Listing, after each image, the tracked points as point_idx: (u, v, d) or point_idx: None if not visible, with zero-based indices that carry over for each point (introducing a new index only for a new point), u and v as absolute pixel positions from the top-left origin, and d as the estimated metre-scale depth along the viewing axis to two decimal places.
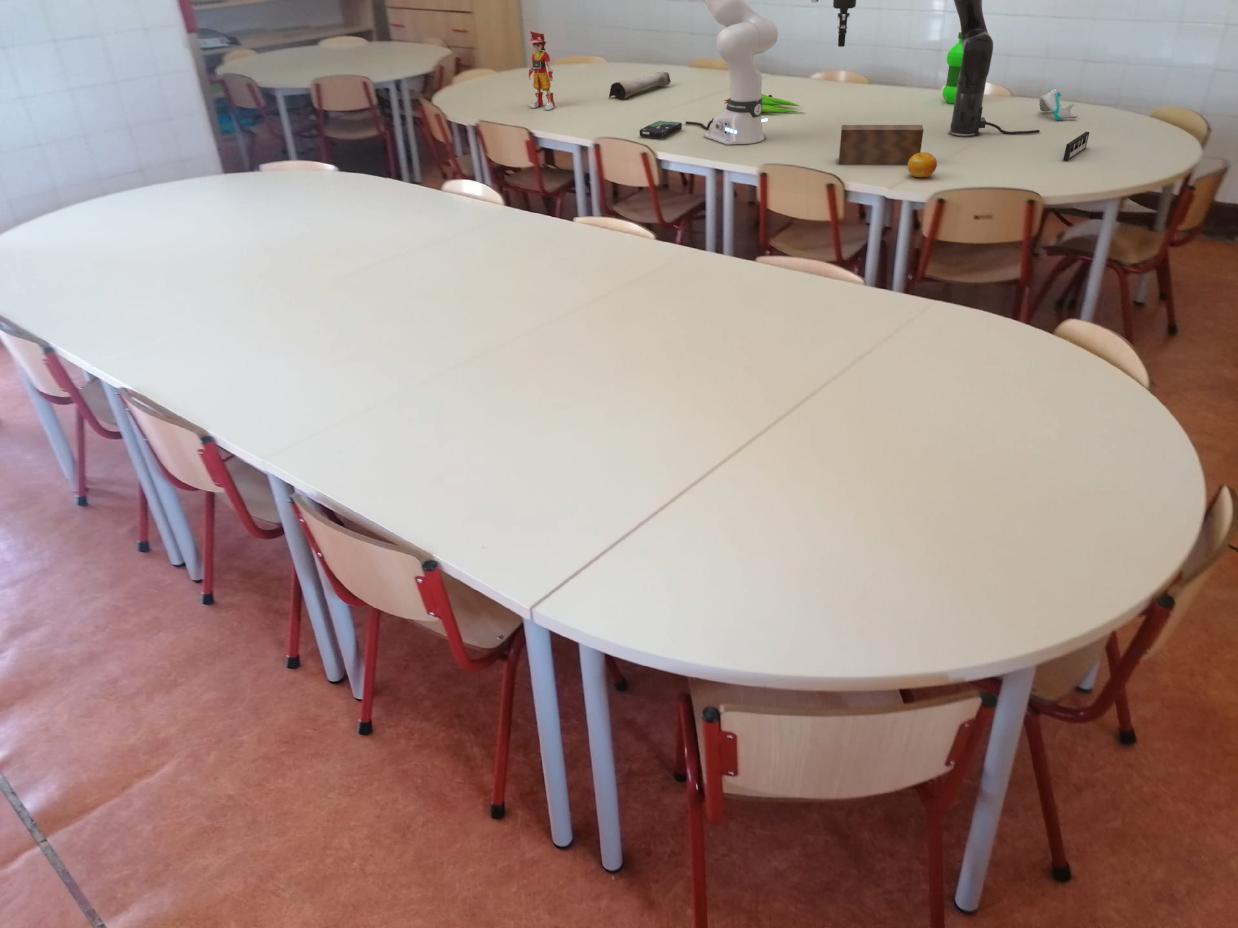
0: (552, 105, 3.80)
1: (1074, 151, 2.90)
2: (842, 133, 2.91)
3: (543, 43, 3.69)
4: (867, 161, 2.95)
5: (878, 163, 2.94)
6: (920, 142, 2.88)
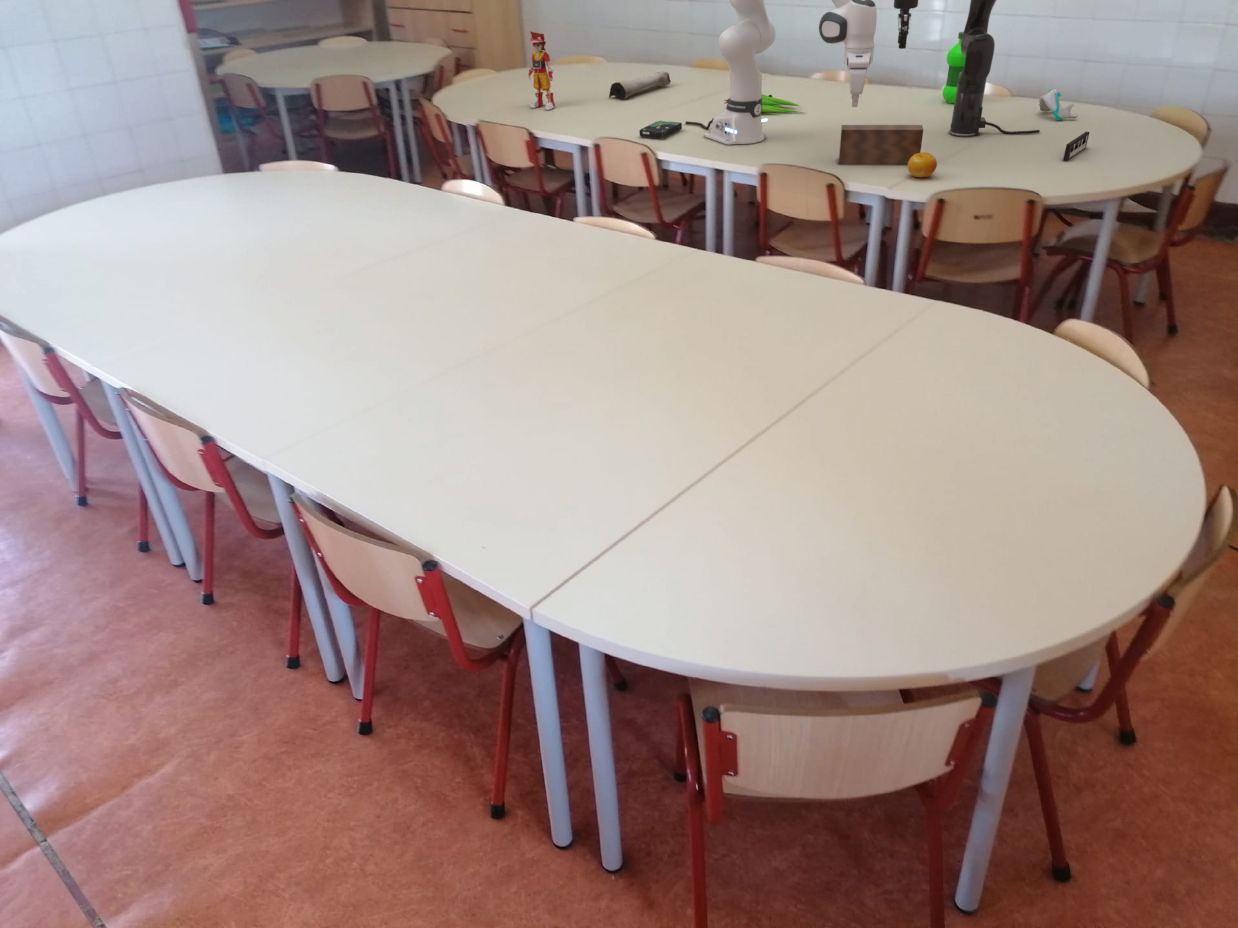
0: (552, 105, 3.80)
1: (1074, 151, 2.90)
2: (842, 133, 2.91)
3: (543, 43, 3.69)
4: (867, 161, 2.95)
5: (878, 163, 2.94)
6: (920, 142, 2.88)
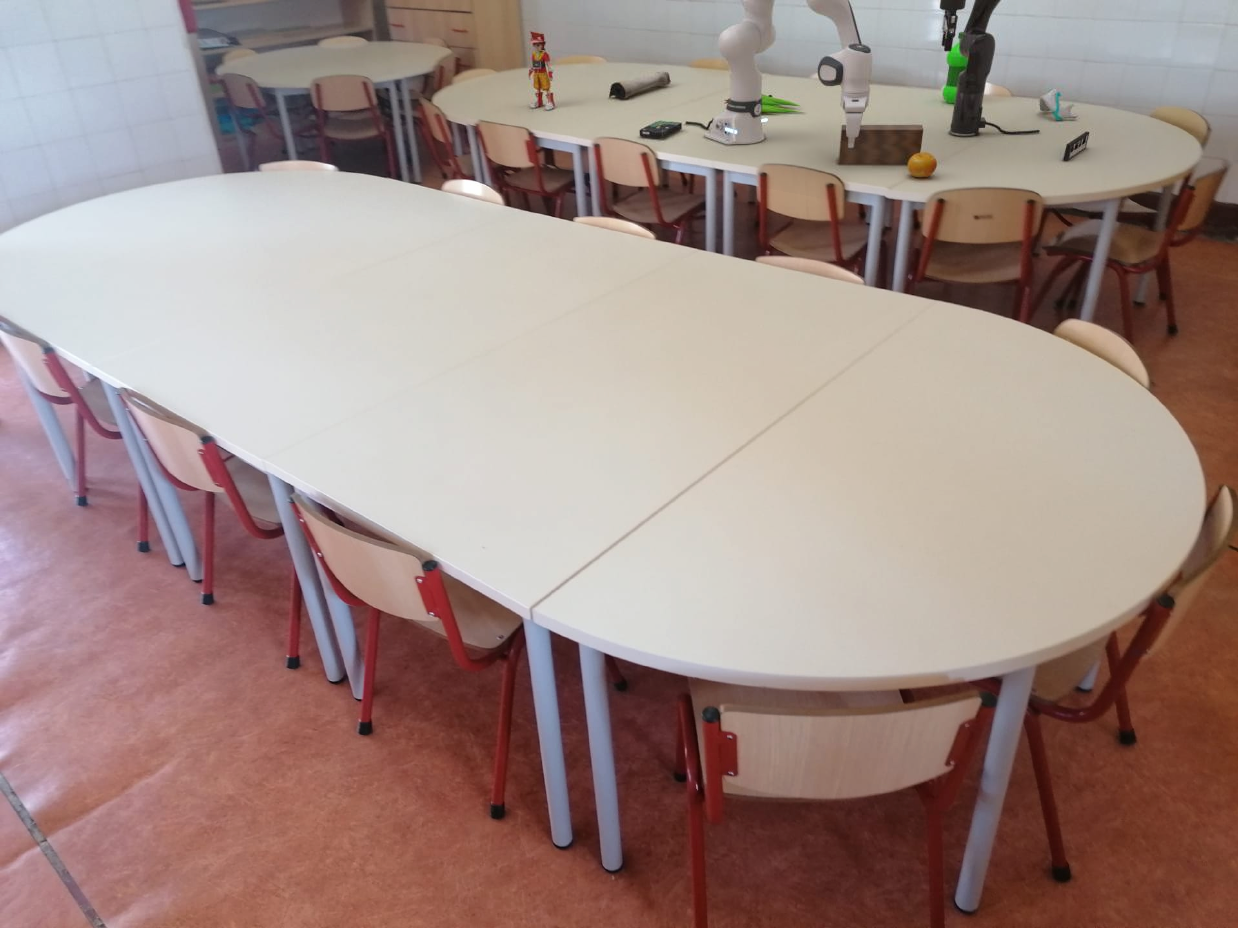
0: (552, 105, 3.80)
1: (1074, 151, 2.90)
2: (842, 133, 2.91)
3: (543, 43, 3.69)
4: (867, 161, 2.95)
5: (878, 163, 2.94)
6: (920, 142, 2.88)
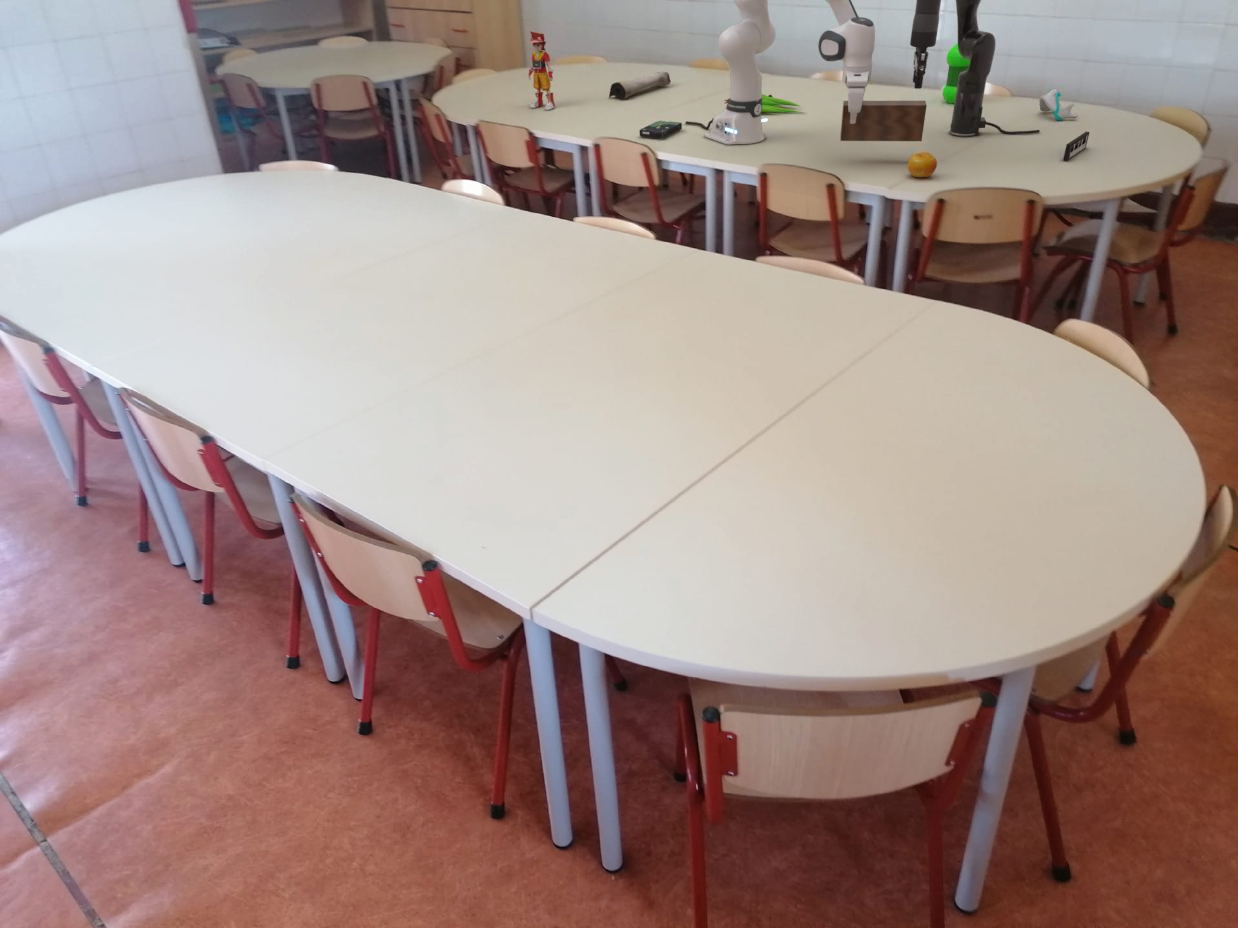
0: (552, 105, 3.80)
1: (1074, 151, 2.90)
2: (844, 109, 2.87)
3: (543, 43, 3.69)
4: (869, 138, 2.90)
5: (880, 140, 2.90)
6: (923, 118, 2.84)
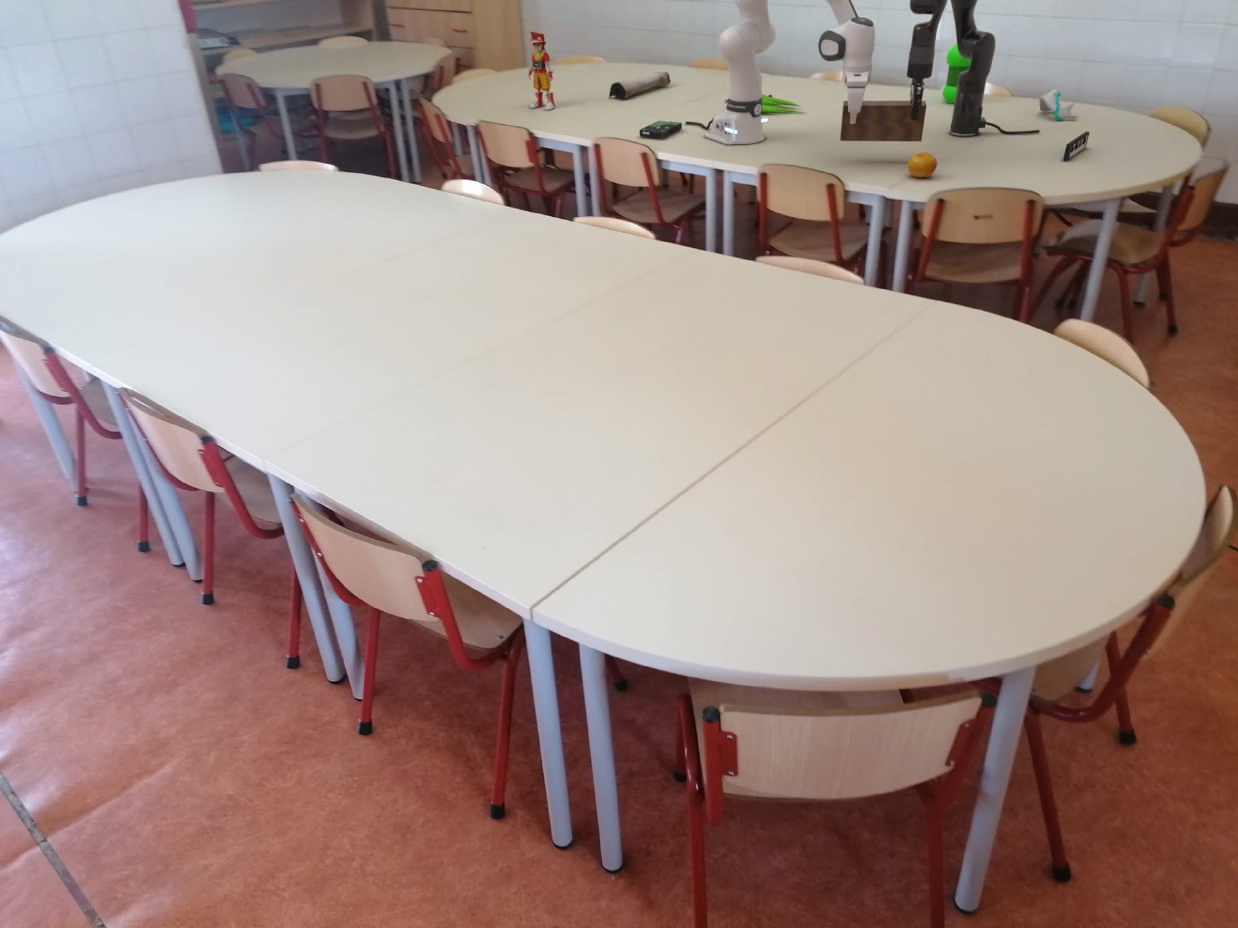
0: (552, 105, 3.80)
1: (1074, 151, 2.90)
2: (844, 109, 2.87)
3: (543, 43, 3.69)
4: (869, 138, 2.90)
5: (880, 140, 2.90)
6: (923, 118, 2.84)
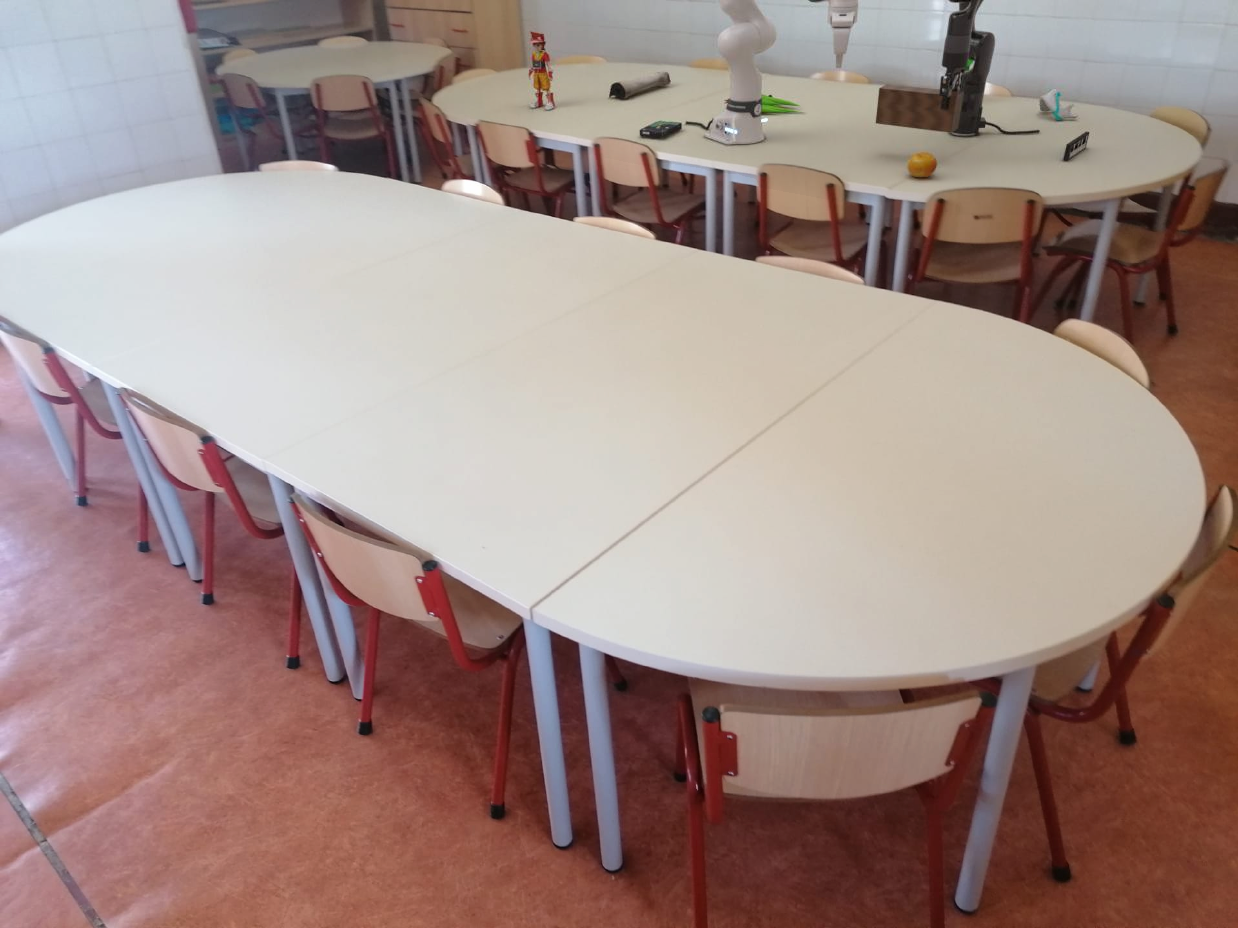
0: (552, 105, 3.80)
1: (1074, 151, 2.90)
2: (879, 91, 2.91)
3: (543, 43, 3.69)
4: (902, 123, 2.92)
5: (912, 126, 2.90)
6: (953, 109, 2.80)
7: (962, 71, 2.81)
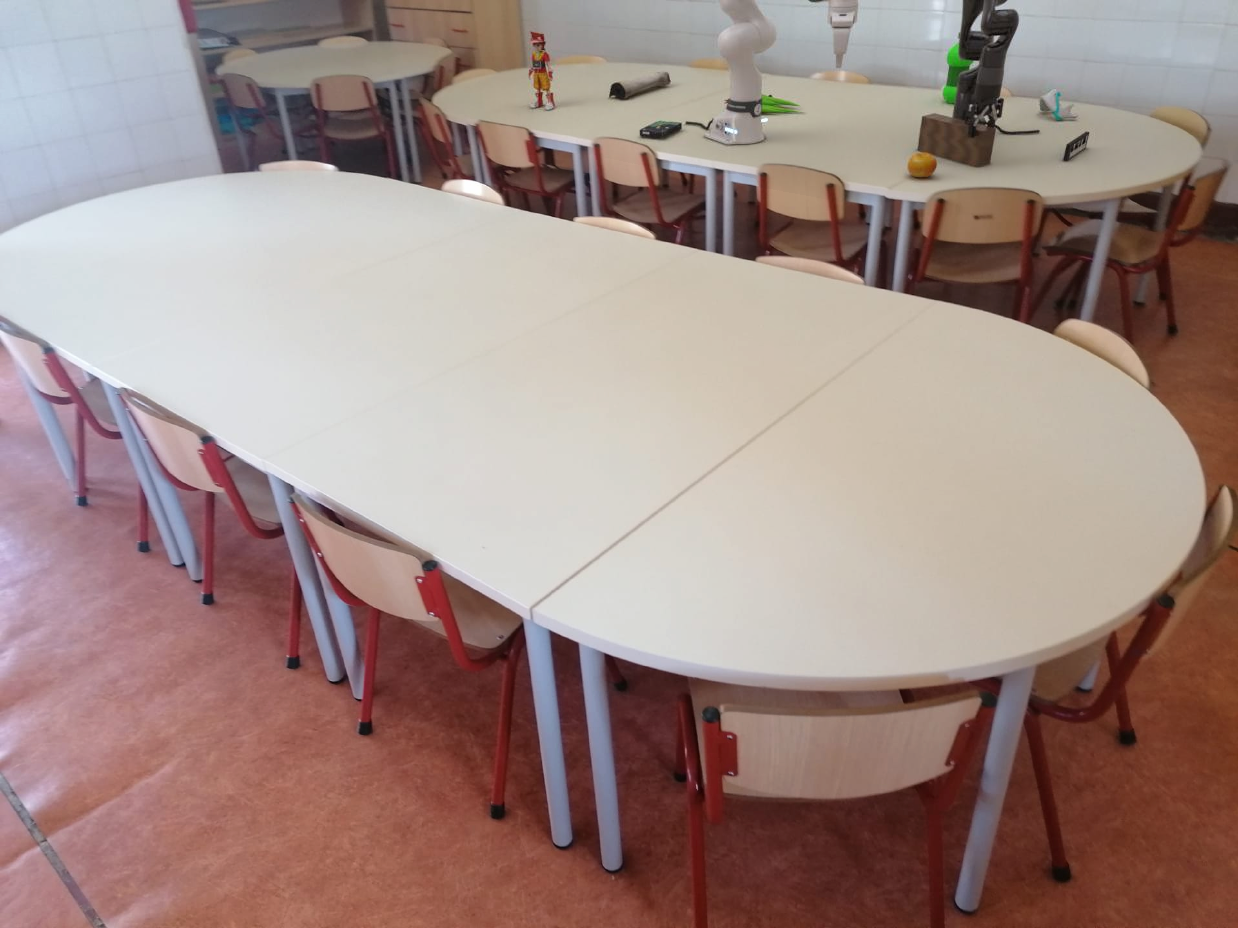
0: (552, 105, 3.80)
1: (1074, 151, 2.90)
2: (922, 120, 2.99)
3: (543, 43, 3.69)
4: (938, 153, 2.98)
5: (946, 157, 2.96)
6: (980, 144, 2.83)
7: (1000, 101, 2.82)
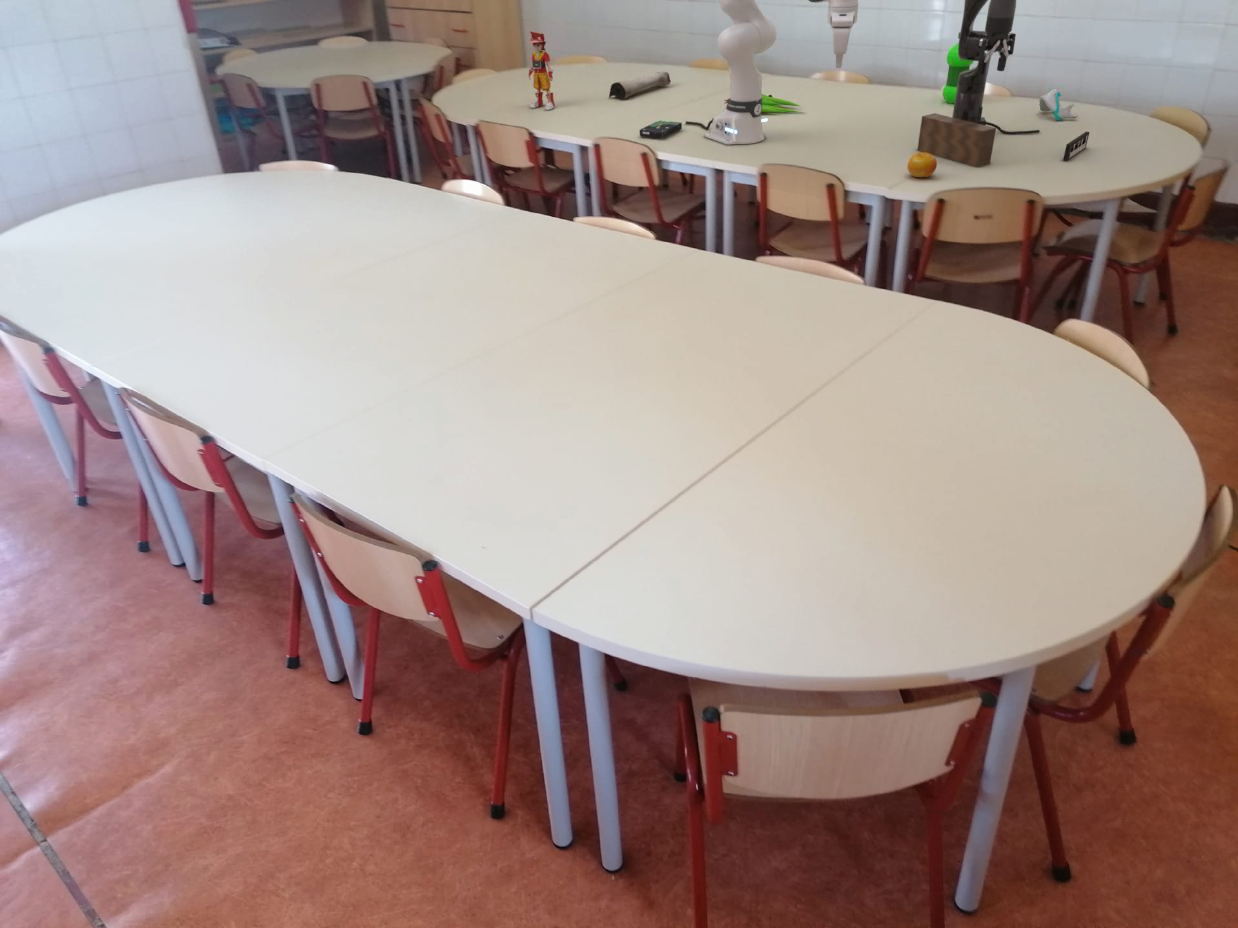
0: (552, 105, 3.80)
1: (1074, 151, 2.90)
2: (922, 120, 2.99)
3: (543, 43, 3.69)
4: (938, 153, 2.98)
5: (946, 157, 2.96)
6: (980, 144, 2.83)
7: (1012, 37, 2.71)
